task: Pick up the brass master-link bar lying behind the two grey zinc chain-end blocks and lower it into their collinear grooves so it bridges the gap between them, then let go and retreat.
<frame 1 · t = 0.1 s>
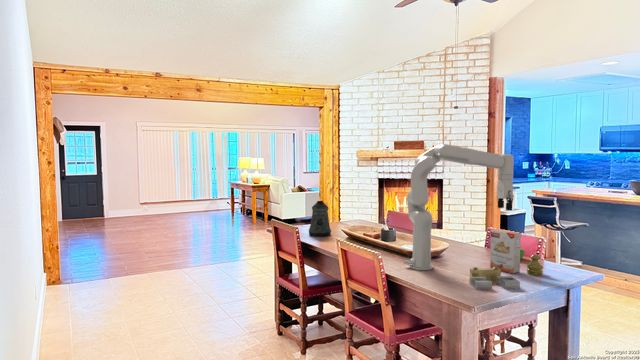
hand: (504, 209, 247), 31 cm above the table, fingers open, 9 cm apart
chain end A: (480, 286, 213), on the table
fruit basket: (513, 259, 265), on the table
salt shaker: (534, 274, 234), on the table
cracker box: (504, 270, 241), on the table
chain end B: (507, 286, 214), on the table
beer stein: (319, 234, 339), on the table
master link: (485, 281, 222), on the table
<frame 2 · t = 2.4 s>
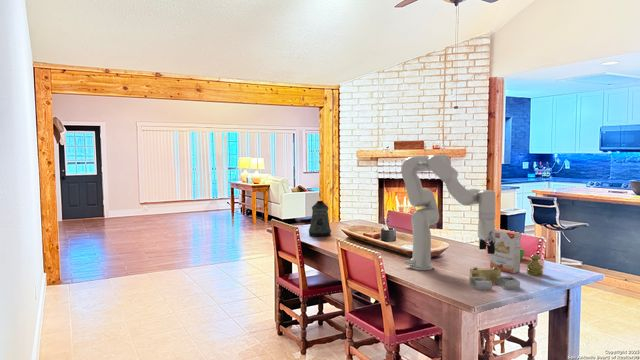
hand: (486, 251, 221), 15 cm above the table, fingers open, 9 cm apart
nothing on the table moved.
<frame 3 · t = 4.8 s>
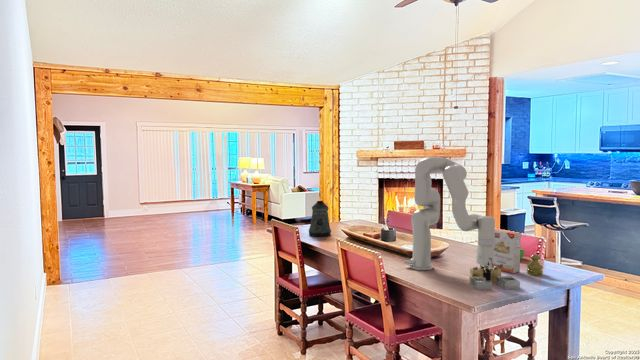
hand: (485, 279, 222), 1 cm above the table, fingers closed on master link, 3 cm apart
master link: (485, 280, 222), on the table, touching gripper
everything else where it was.
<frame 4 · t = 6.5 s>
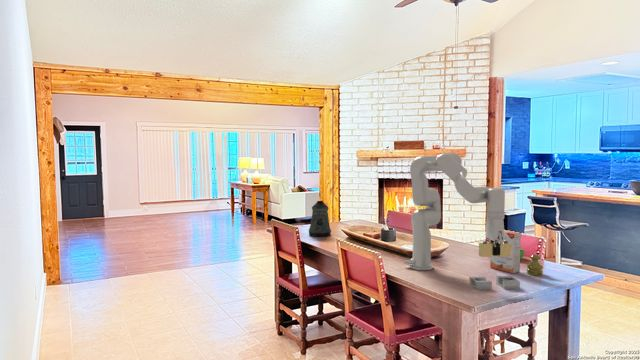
hand: (494, 254, 212), 15 cm above the table, fingers closed on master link, 3 cm apart
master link: (494, 255, 212), point 14 cm above the table, touching gripper
everything else where it was.
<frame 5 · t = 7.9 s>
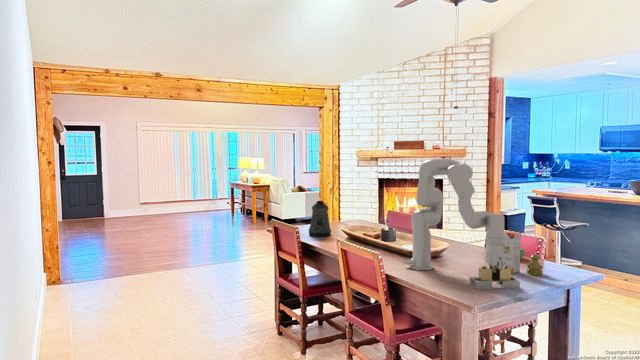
hand: (494, 279, 213), 3 cm above the table, fingers closed on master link, 3 cm apart
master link: (494, 280, 213), point 3 cm above the table, touching gripper
everything else where it was.
when the fingers open (2 cm above the table, at t = 8.7 s): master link stays where it is, resting on chain end A, chain end B.
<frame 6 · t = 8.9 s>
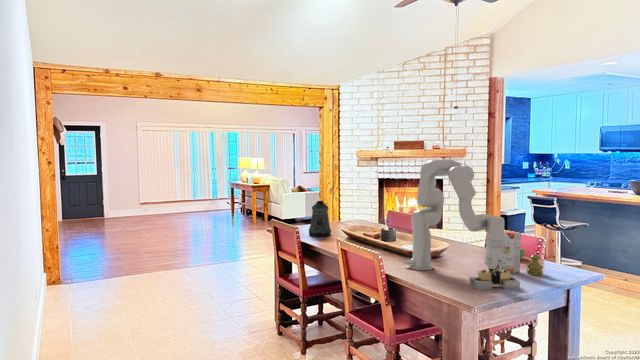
hand: (494, 281, 213), 2 cm above the table, fingers open, 4 cm apart
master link: (493, 284, 213), point 1 cm above the table, touching chain end A, chain end B
everything else where it was.
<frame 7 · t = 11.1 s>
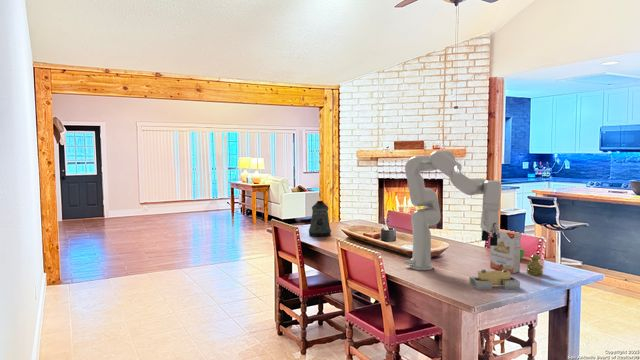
hand: (489, 243, 215), 20 cm above the table, fingers open, 9 cm apart
nothing on the table moved.
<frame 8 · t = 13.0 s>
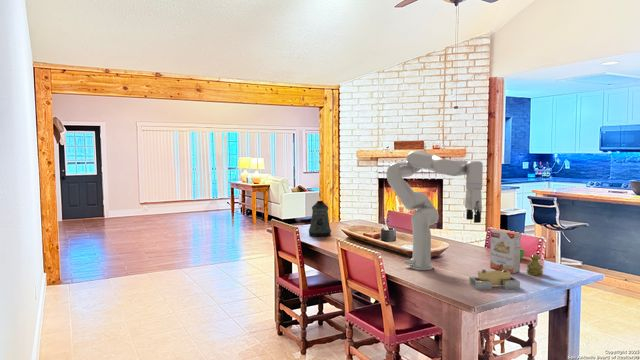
hand: (473, 221, 226), 28 cm above the table, fingers open, 9 cm apart
nothing on the table moved.
at the end: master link 0.1 cm from the target spot, point 1.0 cm above the table; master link tilted 0°; the gripper is holding nothing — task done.
